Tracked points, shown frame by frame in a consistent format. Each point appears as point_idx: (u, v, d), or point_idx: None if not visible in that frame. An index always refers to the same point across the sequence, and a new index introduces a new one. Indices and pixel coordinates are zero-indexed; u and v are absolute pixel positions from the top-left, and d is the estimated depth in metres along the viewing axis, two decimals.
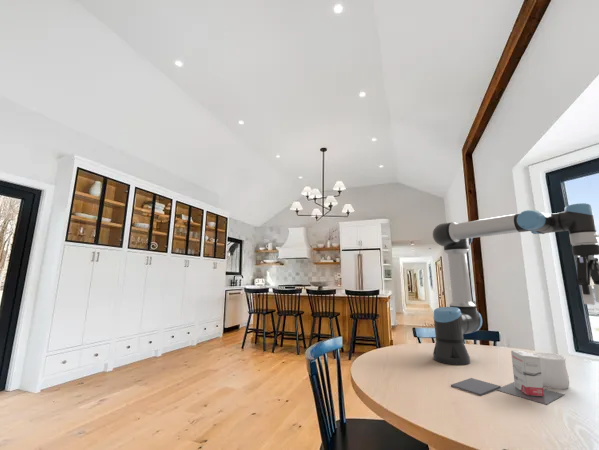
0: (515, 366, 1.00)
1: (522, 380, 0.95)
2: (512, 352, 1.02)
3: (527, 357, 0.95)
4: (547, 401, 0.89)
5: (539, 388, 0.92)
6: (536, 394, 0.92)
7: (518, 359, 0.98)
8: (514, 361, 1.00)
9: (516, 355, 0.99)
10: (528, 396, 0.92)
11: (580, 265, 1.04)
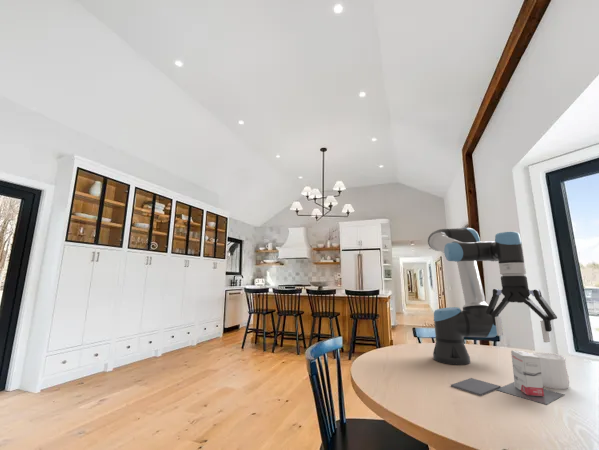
0: (515, 366, 1.00)
1: (522, 380, 0.95)
2: (512, 352, 1.02)
3: (527, 357, 0.95)
4: (547, 401, 0.89)
5: (539, 388, 0.92)
6: (536, 394, 0.92)
7: (518, 359, 0.98)
8: (514, 361, 1.00)
9: (516, 355, 0.99)
10: (528, 396, 0.92)
11: None
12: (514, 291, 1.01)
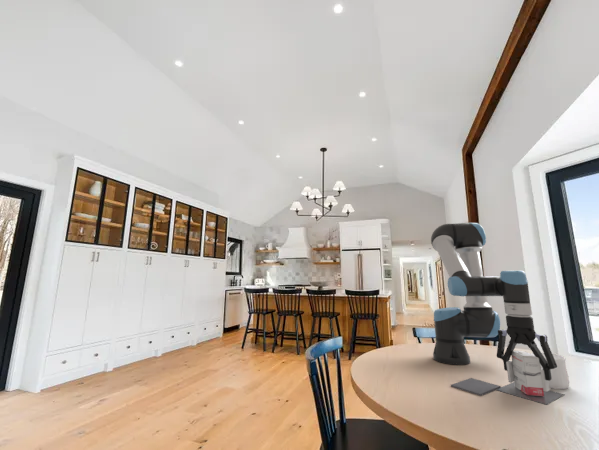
0: (515, 366, 1.00)
1: (522, 380, 0.95)
2: (512, 352, 1.02)
3: (527, 357, 0.95)
4: (547, 401, 0.89)
5: (539, 388, 0.92)
6: (536, 394, 0.92)
7: (518, 359, 0.98)
8: (514, 361, 1.00)
9: (516, 355, 0.99)
10: (528, 396, 0.92)
11: None
12: (520, 332, 0.99)
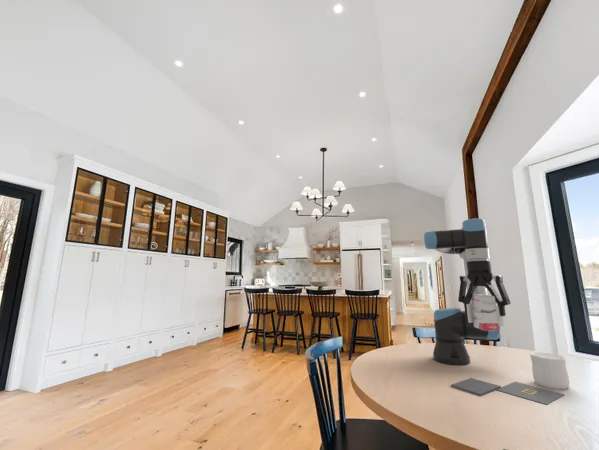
0: (474, 308, 1.07)
1: (480, 318, 1.02)
2: (472, 295, 1.09)
3: (484, 296, 1.01)
4: (547, 401, 0.89)
5: (494, 324, 0.99)
6: (491, 329, 0.99)
7: (476, 300, 1.05)
8: (473, 303, 1.07)
9: (475, 297, 1.06)
10: (528, 396, 0.92)
11: None
12: (478, 275, 1.06)
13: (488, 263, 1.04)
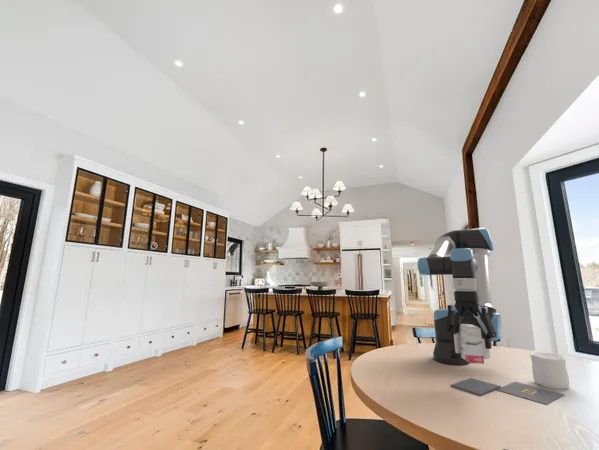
0: (461, 338, 1.06)
1: (466, 349, 1.02)
2: (459, 325, 1.08)
3: (469, 328, 1.01)
4: (547, 401, 0.89)
5: (480, 356, 0.99)
6: (477, 362, 0.99)
7: (463, 331, 1.04)
8: (460, 333, 1.07)
9: (462, 327, 1.05)
10: (528, 396, 0.92)
11: None
12: (465, 306, 1.05)
13: (474, 294, 1.04)
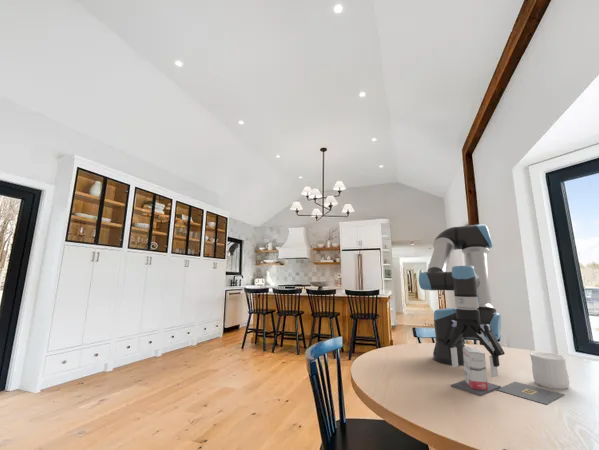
0: (465, 362, 1.05)
1: (469, 374, 1.00)
2: (463, 348, 1.06)
3: (473, 353, 0.99)
4: (547, 401, 0.89)
5: (483, 382, 0.97)
6: (480, 388, 0.97)
7: (466, 355, 1.03)
8: (464, 357, 1.05)
9: (465, 351, 1.04)
10: (528, 396, 0.92)
11: None
12: (467, 324, 1.04)
13: (477, 313, 1.02)
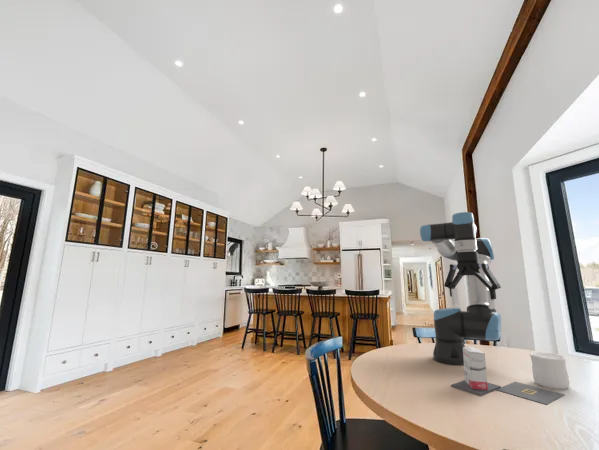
0: (465, 362, 1.05)
1: (469, 374, 1.00)
2: (463, 348, 1.06)
3: (473, 353, 0.99)
4: (547, 401, 0.89)
5: (483, 382, 0.97)
6: (480, 388, 0.97)
7: (466, 355, 1.03)
8: (464, 357, 1.05)
9: (465, 351, 1.04)
10: (528, 396, 0.92)
11: None
12: (467, 265, 1.13)
13: (475, 254, 1.11)
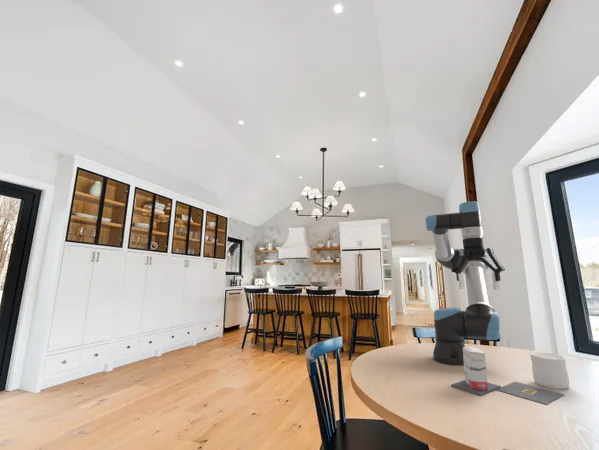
0: (465, 362, 1.05)
1: (469, 374, 1.00)
2: (463, 348, 1.06)
3: (473, 353, 0.99)
4: (547, 401, 0.89)
5: (483, 382, 0.97)
6: (480, 388, 0.97)
7: (466, 355, 1.03)
8: (464, 357, 1.05)
9: (465, 351, 1.04)
10: (528, 396, 0.92)
11: None
12: (473, 251, 1.21)
13: (481, 239, 1.19)
